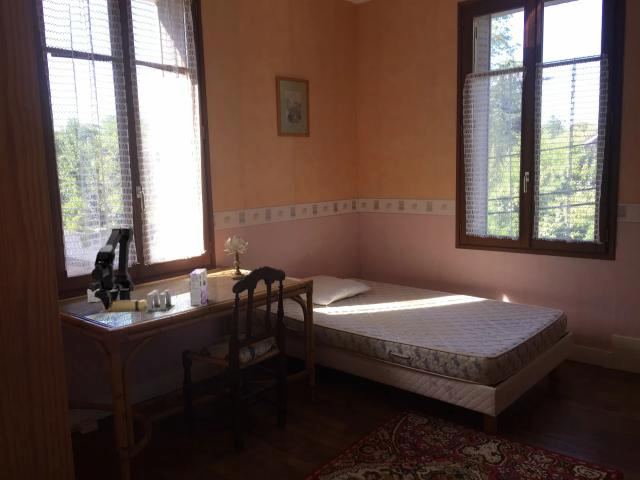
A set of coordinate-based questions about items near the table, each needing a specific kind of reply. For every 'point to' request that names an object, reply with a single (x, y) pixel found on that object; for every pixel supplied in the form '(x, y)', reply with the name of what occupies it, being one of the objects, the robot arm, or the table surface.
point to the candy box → (198, 287)
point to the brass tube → (127, 305)
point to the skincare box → (92, 296)
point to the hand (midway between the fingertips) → (110, 307)
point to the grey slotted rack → (151, 307)
